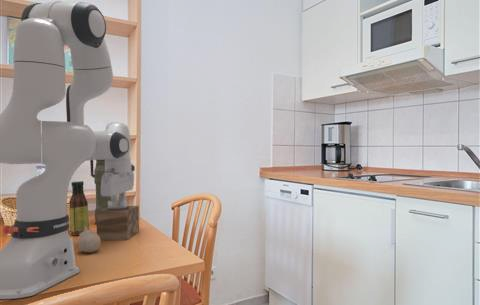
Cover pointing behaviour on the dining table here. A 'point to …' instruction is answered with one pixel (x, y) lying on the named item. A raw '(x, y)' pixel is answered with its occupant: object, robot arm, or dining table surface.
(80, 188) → the sauce bottle
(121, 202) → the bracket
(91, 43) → the robot arm
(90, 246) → the garlic bulb
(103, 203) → the thermos
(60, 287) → the dining table surface
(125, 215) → the striped wooden crate
